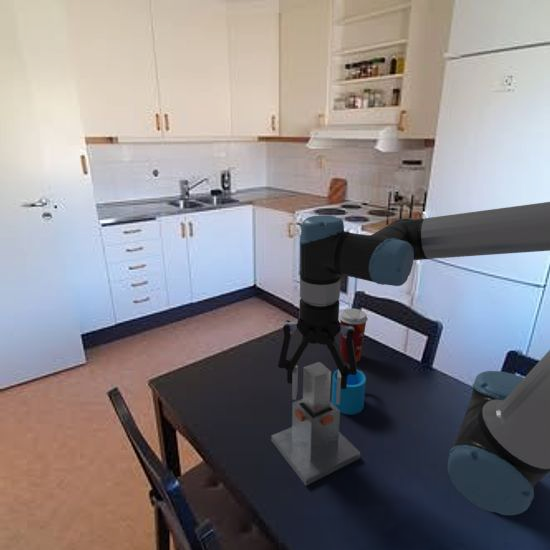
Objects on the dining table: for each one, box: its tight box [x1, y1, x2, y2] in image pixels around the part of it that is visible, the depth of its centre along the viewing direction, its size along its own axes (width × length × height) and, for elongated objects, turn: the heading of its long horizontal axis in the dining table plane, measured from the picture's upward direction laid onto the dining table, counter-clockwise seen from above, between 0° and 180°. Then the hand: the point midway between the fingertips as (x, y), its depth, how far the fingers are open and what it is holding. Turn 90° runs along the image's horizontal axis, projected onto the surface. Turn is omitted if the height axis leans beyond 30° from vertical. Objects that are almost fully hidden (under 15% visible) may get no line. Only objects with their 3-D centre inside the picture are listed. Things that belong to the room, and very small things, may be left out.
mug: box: [331, 369, 367, 416], centre depth 103 cm, size 12×8×8 cm
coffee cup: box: [339, 308, 368, 363], centre depth 120 cm, size 8×8×15 cm
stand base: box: [270, 398, 361, 487], centre depth 86 cm, size 14×14×12 cm
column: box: [302, 361, 332, 418], centre depth 84 cm, size 4×4×19 cm
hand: (316, 397), depth 84 cm, fingers open, 8 cm apart
